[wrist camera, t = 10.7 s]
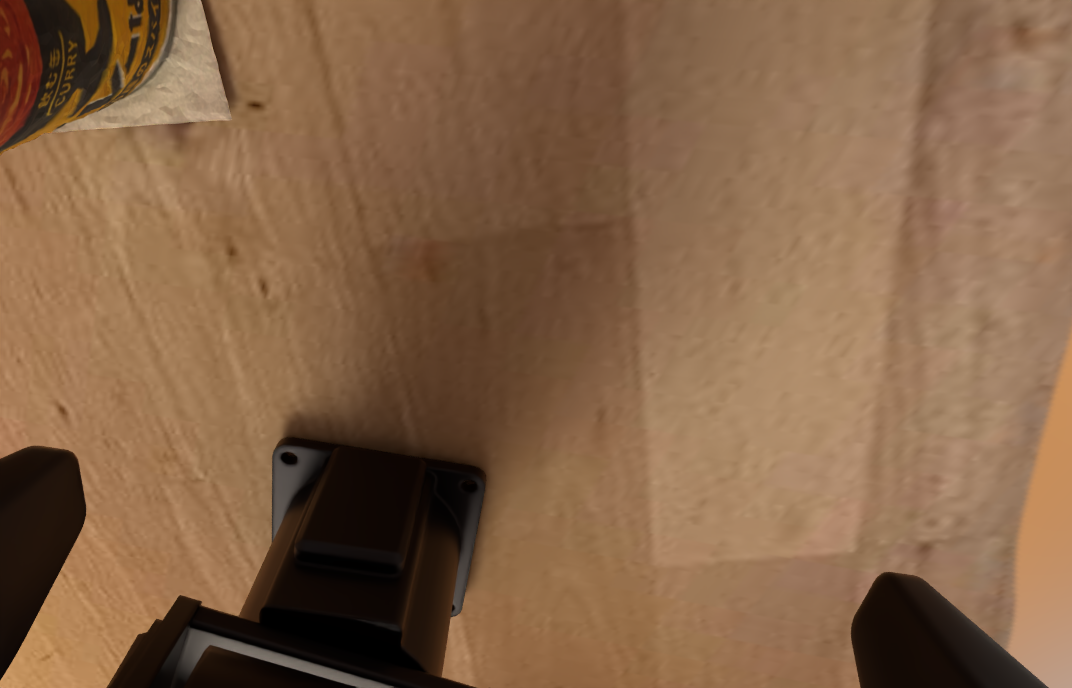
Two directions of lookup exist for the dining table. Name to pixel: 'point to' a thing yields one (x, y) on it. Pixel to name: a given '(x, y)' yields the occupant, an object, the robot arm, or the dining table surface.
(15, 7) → the condiment
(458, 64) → the dining table surface
